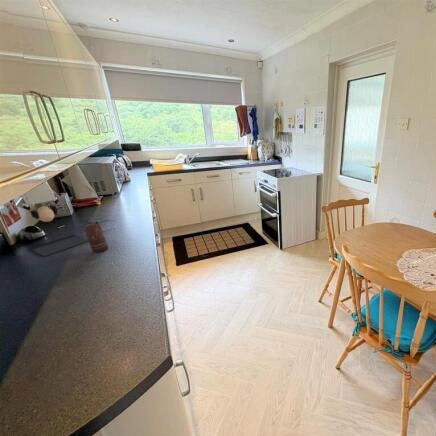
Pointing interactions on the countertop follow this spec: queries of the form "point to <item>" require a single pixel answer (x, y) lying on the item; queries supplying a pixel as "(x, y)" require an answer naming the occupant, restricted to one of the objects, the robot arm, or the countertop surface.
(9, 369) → the countertop surface
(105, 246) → the can
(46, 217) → the egg
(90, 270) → the countertop surface
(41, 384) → the countertop surface
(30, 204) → the robot arm
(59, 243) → the placemat
